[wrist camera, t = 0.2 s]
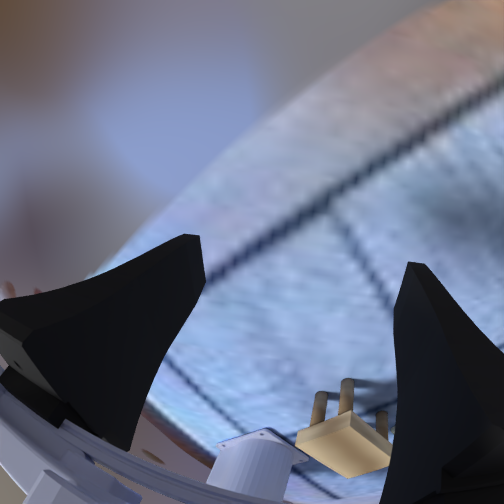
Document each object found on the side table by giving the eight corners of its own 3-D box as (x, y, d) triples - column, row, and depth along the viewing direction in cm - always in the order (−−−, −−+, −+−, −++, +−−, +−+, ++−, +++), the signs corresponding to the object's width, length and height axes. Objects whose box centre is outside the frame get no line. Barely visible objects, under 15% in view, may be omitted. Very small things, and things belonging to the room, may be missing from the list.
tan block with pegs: (352, 432, 28) (347, 478, 22) (306, 394, 27) (294, 445, 22) (396, 413, 25) (397, 462, 20) (352, 371, 25) (349, 426, 19)
